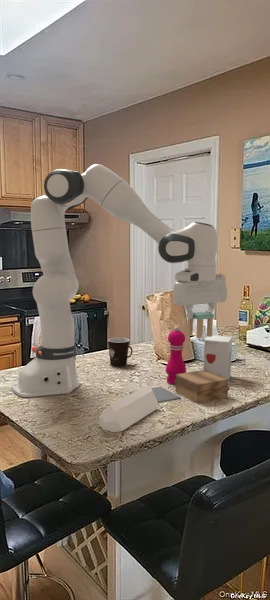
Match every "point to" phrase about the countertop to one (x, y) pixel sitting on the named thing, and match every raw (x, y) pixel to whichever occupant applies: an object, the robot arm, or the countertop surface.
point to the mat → (163, 394)
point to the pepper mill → (175, 355)
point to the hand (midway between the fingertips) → (200, 317)
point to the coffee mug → (118, 351)
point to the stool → (200, 324)
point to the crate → (201, 386)
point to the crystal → (128, 410)
